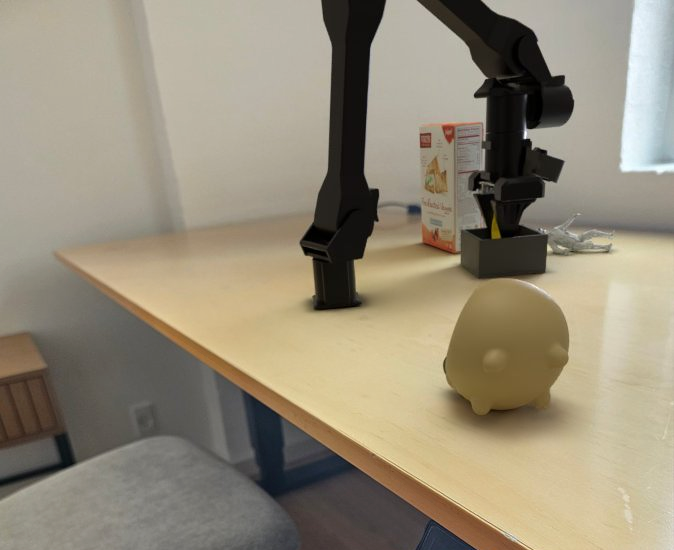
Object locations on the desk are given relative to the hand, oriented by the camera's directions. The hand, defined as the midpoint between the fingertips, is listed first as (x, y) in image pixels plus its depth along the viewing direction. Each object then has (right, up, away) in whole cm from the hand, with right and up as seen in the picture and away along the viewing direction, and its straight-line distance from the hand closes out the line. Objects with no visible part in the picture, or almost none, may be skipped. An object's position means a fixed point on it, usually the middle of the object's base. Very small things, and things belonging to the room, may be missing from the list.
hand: (501, 243), depth 101 cm
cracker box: (-4, +6, +21) cm, 23 cm away
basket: (0, -3, +2) cm, 4 cm away
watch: (0, -1, +1) cm, 1 cm away
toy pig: (-12, -28, -45) cm, 55 cm away
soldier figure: (+15, +2, +10) cm, 18 cm away
